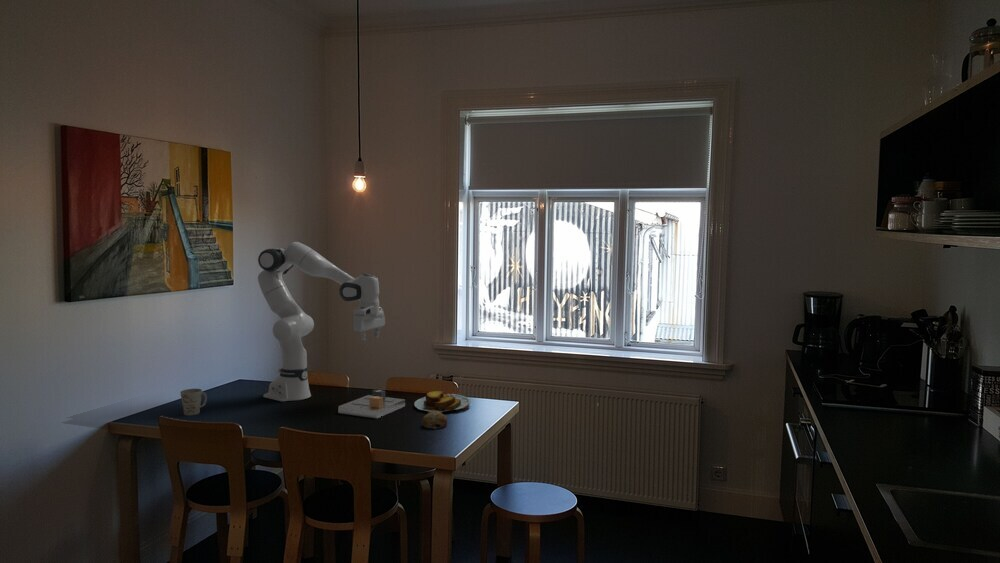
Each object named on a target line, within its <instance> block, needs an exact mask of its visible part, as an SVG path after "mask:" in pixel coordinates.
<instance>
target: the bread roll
mask: <svg viewBox="0 0 1000 563" xmlns="http://www.w3.org/2000/svg"><path fill="white" fill-rule="evenodd" d="M421 423H422V424H421V425H422V427H424V428H426V429H430V428H433V429H432V430H436V428H437V429H441V428H445V427H447V425H448V418H447V416H446V414H443V412H440V411H436V410H433V411H431V412H429V411H428V412H427V413H426V414H425V415H424V416H423V417H422V420H421Z"/></svg>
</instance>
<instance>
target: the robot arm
mask: <svg viewBox="0 0 1000 563" xmlns="http://www.w3.org/2000/svg"><path fill="white" fill-rule="evenodd" d="M257 259H258V260H257V263H258V265H259V267H260V268H261V269H262V271H261V272H259V274H258V275H257V281H258V284H259V287H260V291H261V293H262V295H263V296H264V300H266V303H267V304H268V306H269V308H270V310H271V311H272V312H273V313H275V314H276V315H277V316H278V317H279V318H280V319H279V320H277V321H276V322H275V323H274V324H273V327H272V333H273V337H274V338H275V339H276V340H277V341H278V343H279V346H280V350H281V354H282V357H281V358H282V359H281V360H282V367H281V368H279V369H278V370H277V373H279V376H277V377H276V378H275V379H274V380H273V381H271V382H270V383H269V385H268V386H269V387H268V392H266V393H264V394H263V398H266V399H270V400H275V401H279V402H287V401H291V402H292V401H301V400H305V399H308V398H310V397H312V394H311V390H310V386H309V384H310V383H309V378H308V376H309V368H308V360H307V359H308V358H307V357H308V356H307V355H308V354H307V352H308V351H307V349H306V348H305V347H304V345H303V342H302V337H305V336H307V335H310V333H311V332H312V331H313V330H314V327H315V322H314V320H313V319H314V318H312V316H310V315H308V314H307V313H306V312H304V310H302V308H301V307H300V306H299V305H298V304H297V302H296V301H295V300H294V298H293V296H292V294H291V292H290V290H289V289H288V287H287V285H286V283H285V281H284V279H283V275H286V274H287V273H288V272H289V270H291V269H292V268H293V267H296V268H297V269H299V270H300V271H301V272H303V273H305V274H306V275H309V276H311V277H314V278H315V277H316V278H326V279H330V280H332V281H333V282H335V283H337V284H339V285H340V287H339V291H338V292H339V296H340V298H341V299H342V300H343V301H344V302H348V303H349V302H350V303H352V302H357V301H359V305H358V306H356V308H354V309H353V312H352V314H353V315H354V316H353V331H355V332H359V334H360V336H361V341H366V340H367V338H368V336H367V335H366V331H370V330H373V329H374V333H373V338H379V333H380V330H381V328H382V327H384V326H385V325H386V316H385V313H384V309H383V308H382V306H380V300H379V295H380V283H379V279H378V277H377V276H376V275H375V274H373V273H372V274H370V273H361V274H360V275H359V276H357V277H355V276H352V275H351V274H349V273H348V272H346V271H345V270H343V269H341V268H340V267H338V266H336V265H335V264H334V263H332V262H331V261H329V260H328V259H327V258H325V257H324V256H322V255H321V254H320V253H318V252H317V251H316V250H314V249H313V248H311V247H310V246H308V245H307V244H304V243H301V242H299V241H293V242H291V243H289V244H288V245H287V247H286V248H284V247H283V248H282V247H274V248H266V249H264V250H262V251H261V252H260V254H259V255H258V258H257Z"/></svg>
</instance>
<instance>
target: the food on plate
mask: <svg viewBox="0 0 1000 563" xmlns="http://www.w3.org/2000/svg"><path fill="white" fill-rule="evenodd" d="M470 404H471V399H470V398H469V397H467V396H464V395H461V394H455V393H447V394H446V393H444V391H441V390H432V391H429V392H427V393H426V394H425V396H424V397H421V398H418V399H417V400H415V401H414V404H413V406H414V407H415V408H416V409H417V410H420V411H426V412H428V413H429V412H431V411H433V410H436V411H440V412H442V413H443V412H452V411H455V410H463V409H464V410H465V411H466V410H468V409H467V408H468V406H469V405H470Z"/></svg>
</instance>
